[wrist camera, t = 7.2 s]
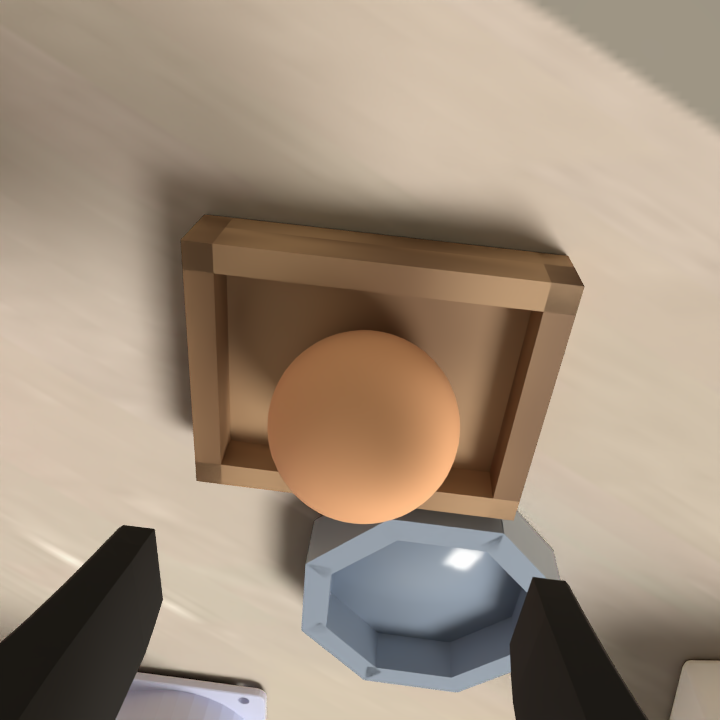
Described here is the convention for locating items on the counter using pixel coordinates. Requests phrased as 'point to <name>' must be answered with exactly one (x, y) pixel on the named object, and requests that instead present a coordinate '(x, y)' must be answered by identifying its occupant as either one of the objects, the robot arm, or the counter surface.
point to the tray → (378, 313)
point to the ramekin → (422, 595)
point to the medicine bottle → (698, 691)
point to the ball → (363, 427)
